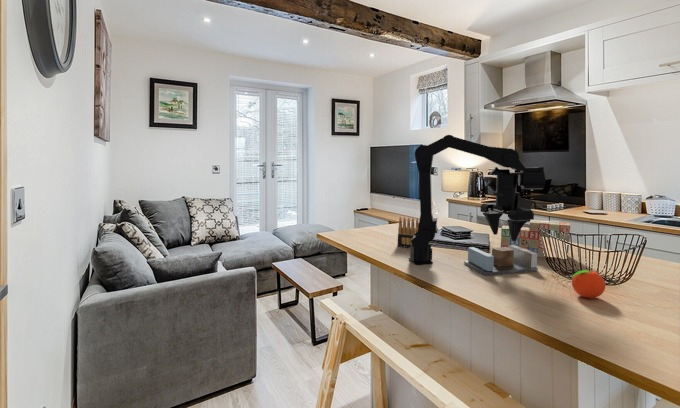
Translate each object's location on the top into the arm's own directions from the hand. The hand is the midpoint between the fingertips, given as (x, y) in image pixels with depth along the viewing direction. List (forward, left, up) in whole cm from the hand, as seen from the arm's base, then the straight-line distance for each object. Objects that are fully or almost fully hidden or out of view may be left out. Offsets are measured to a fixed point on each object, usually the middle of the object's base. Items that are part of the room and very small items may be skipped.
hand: (504, 237), depth 111 cm
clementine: (+5, -26, -10) cm, 28 cm away
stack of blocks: (+20, +11, -10) cm, 25 cm away
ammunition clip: (-19, +31, -10) cm, 38 cm away
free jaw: (-8, 0, -9) cm, 12 cm away
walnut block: (0, 0, -9) cm, 9 cm away
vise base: (-1, 0, -10) cm, 10 cm away
